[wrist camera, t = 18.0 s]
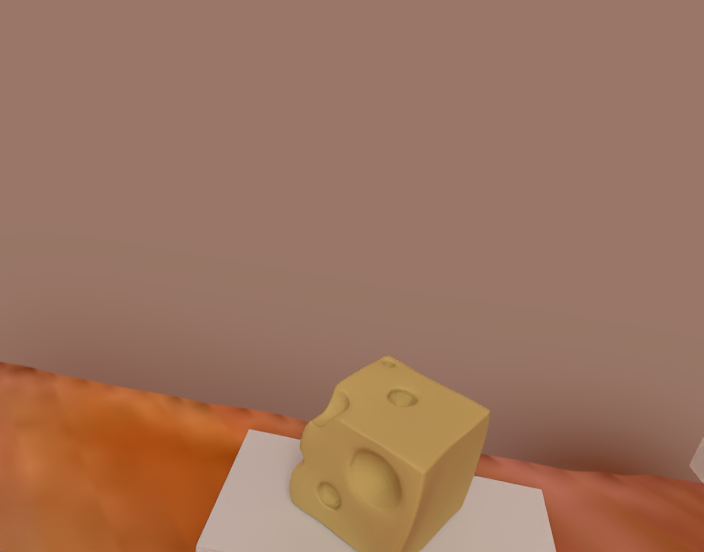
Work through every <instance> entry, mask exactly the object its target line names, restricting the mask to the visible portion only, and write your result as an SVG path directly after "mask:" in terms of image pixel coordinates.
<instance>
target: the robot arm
mask: <svg viewBox="0 0 704 552" xmlns="http://www.w3.org/2000/svg"><path fill="white" fill-rule="evenodd" d="M689 466H690V467H691V468H692V470H693V471H694V472H695V473H696V475H697V476H698V477H699V478H700V479H701V481H702V482H703V483H704V436H703V438H702V441H701V443H700V445H699V447H698V449H697V451H696V453H695V455H694V457H693V459H692V461H691V463H690V465H689Z"/></svg>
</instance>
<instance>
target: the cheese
mask: <svg viewBox="0 0 704 552" xmlns="http://www.w3.org/2000/svg"><path fill="white" fill-rule="evenodd" d="M489 418H490V411H489V410H488V409H486V408H485V407H483V406H481V405H480V404H478V403H476V402H474V401H472V400H471V399H469V398H467V397H465V396H463V395H461V394H459V393H457V392H455V391H453V390H451V389H449V388H447V387H445V386H443V385H441V384H439V383H437V382H435V381H433V380H431V379H429V378H427V377H426V376H424V375H422V374H420V373H418V372H417V371H415V370H413V369H411V368H409V367H408V366H406V365H404V364H403V363H401V362H400V361H398V360H396V359H394V358H393V357H391V356H389V355H388V356H385V357H383V358H381V359H379V360H377V361H375V362H374V363H372V364H370V365H368V366H366V367H364V368H362V369H361V370H359V371H357V372H356V373H354V374H352V375H351V376H349V377H348V378H346V379H344V380H343V381H341V382H340V383H339V384H338V385H337V386H336V387H335V389H334V392H333V394H332V397H331V400H330V403H329V405H328V406H327V408H326V409H325V411H324V412H323V413H322V414H320V415H319V416H318V417H316V418H314V419H312V420H311V421H309V422H308V424H307V425H306V426H305V428H304V430H303V433H302V437H301V442H300V450H301V452H302V454H303V457H304V458H303V460H302V461H301V462H300V463H299V464H298V465H297V466H296V467H295V468H294V470H293V473H292V476H291V480H290V496H291V501H292V502H293V503H294V504H295V505H296V506H297V507H299V508H300V509H301V510H303V511H304V512H306V513H307V514H309V515H311V516H312V517H314V518H315V519H317V520H318V521H320V522H321V523H322V524H324V525H325V526H326V527H328V528H329V529H330V530H331V531H333V532H334V533H335V534H336V535H337V536H339V537H340V538H341V539H343V540H344V541H345V542H347V543H348V544H349V545H350V546H352V547H353V548H354V549H355V550H356V551H358V552H420V551H421V550H422V549H423V548H424V547H425V546H426V544H427V543H428V542H429V541H430V540H431V539H432V538H433V537H434V536H435V535H436V534H437V533H438V532H439V530H440V529H441V528H442V527H443V526H444V525H445V524H446V523H447V521H448V520H449V519H450V518H451V517H452V516H453V515H454V514H455V513H456V512H457V511H458V510H459V509H460V508H461V507H462V506H463V503H464V500H465V498H466V495H467V493H468V490H469V488H470V485H471V482H472V480H473V477H474V474H475V471H476V467H477V464H478V461H479V458H480V454H481V451H482V448H483V444H484V441H485V437H486V433H487V428H488V423H489Z"/></svg>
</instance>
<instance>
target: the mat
mask: <svg viewBox="0 0 704 552" xmlns="http://www.w3.org/2000/svg"><path fill="white" fill-rule="evenodd" d="M300 442H301V440H299V439H295V438H290V437H285V436H280V435H275V434H270V433H266V432H261V431H256V430H251V429H249V431H248V433H247V435H246V437H245V439H244V442H243V444H242V446H241V448H240V450H239V453H238V455H237V457H236V459H235V461H234V464H233V466H232V468H231V470H230V472H229V475H228V477H227V479H226V481H225V483H224V486H223V488H222V490H221V492H220V494H219V496H218V499H217V501H216V503H215V505H214V507H213V510H212V512H211V514H210V516H209V518H208V521H207V523H206V525H205V527H204V529H203V532H202V534H201V536H200V538H199V540H198V543H197V545H196V552H358V551H356V550H355V549H354V548H353V547H352V546H350V545H349V544H348V543H347V542H345V541H344V540H343V539H341V538H340V537H339V536H337V535H336V534H335V533H334V532H333V531H331V530H330V529H329V528H328V527H326V526H325V525H324V524H322V523H321V522H320V521H318V520H317V519H315V518H314V517H312V516H311V515H309V514H307V513H306V512H304V511H303V510H301V509H300V508H299V507H297V506H296V505H295V504H294V503H293V502H292V501H291V496H290V480H291V476H292V473H293V470H294V468H295V467H296V466H297V465H298V464H299V463H300V462H301V461H302V460H303V458H304V457H303V454H302V452H301V450H300ZM420 552H556V549H555V545H554V540H553V536H552V532H551V528H550V523H549V519H548V515H547V511H546V506H545V502H544V498H543V494H542V490H541V489H536V488H531V487H526V486H521V485H516V484H512V483H507V482H502V481H497V480H492V479H487V478H483V477H478V476H474V477H473V480H472V482H471V485H470V488H469V490H468V493H467V495H466V498H465V500H464V503H463V506H462V507H461V508H460V509H459V510H458V511H457V512H456V513H455V514H454V515H453V516H452V517H451V518H450V519H449V520H448V521H447V523H446V524H445V525H444V526H443V527H442V528H441V529H440V530H439V532H438V533H437V534H436V535H435V536H434V537H433V538H432V539H431V540H430V541H429V542H428V543H427V544H426V546H425V547H424V548H423V549H422V550H421V551H420Z"/></svg>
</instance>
